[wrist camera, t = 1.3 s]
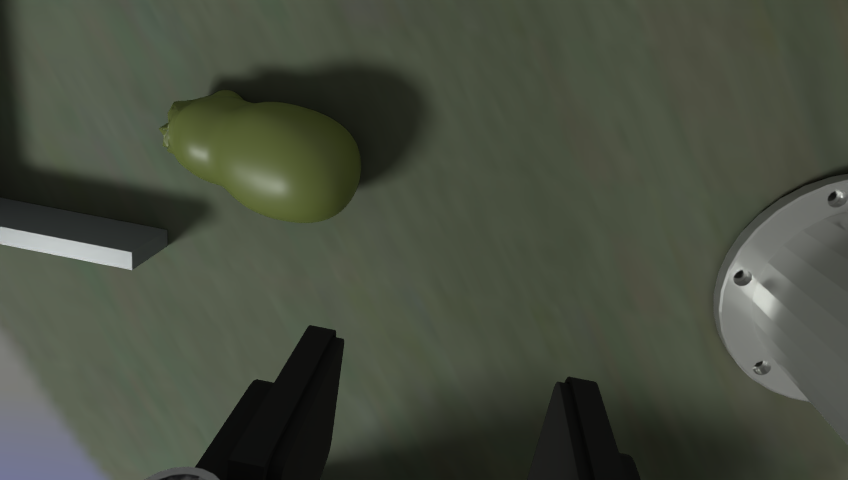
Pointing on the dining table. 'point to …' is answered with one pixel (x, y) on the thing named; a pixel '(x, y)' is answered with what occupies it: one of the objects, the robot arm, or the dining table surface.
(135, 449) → the dining table surface
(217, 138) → the pear
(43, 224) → the box
